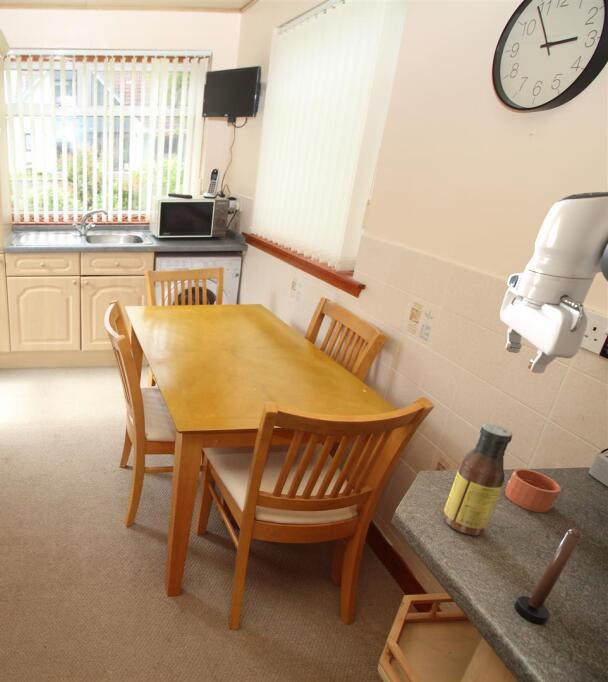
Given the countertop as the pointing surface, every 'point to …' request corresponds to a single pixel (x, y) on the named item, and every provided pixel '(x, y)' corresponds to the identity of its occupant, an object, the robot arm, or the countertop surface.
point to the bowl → (532, 490)
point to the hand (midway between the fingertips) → (522, 360)
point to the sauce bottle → (478, 482)
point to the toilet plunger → (548, 581)
